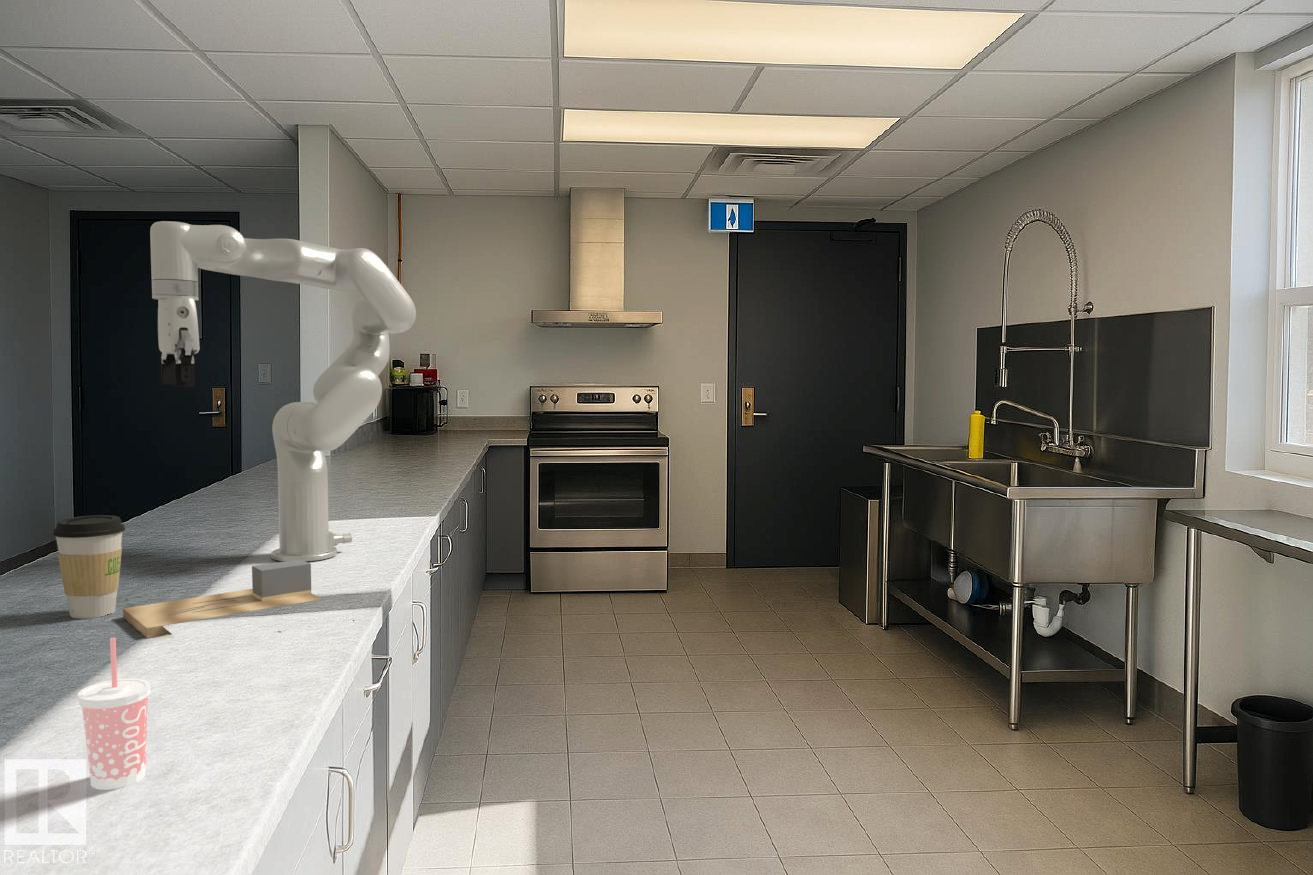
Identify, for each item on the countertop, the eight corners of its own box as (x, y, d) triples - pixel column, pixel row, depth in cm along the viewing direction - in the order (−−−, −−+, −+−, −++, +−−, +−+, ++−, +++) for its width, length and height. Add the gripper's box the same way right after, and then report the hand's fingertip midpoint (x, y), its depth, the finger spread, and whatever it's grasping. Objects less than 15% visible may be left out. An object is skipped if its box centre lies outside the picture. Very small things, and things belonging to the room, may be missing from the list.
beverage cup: (94, 799, 87) (88, 651, 85) (72, 779, 91) (66, 638, 90) (164, 778, 91) (159, 637, 90) (140, 759, 95) (135, 625, 94)
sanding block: (301, 588, 160) (300, 559, 159) (311, 593, 157) (310, 563, 156) (252, 595, 155) (251, 565, 154) (262, 601, 151) (261, 570, 151)
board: (290, 591, 164) (290, 582, 163) (323, 607, 153) (322, 598, 153) (123, 617, 146) (123, 608, 146) (147, 638, 136) (146, 627, 136)
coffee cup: (142, 608, 152) (139, 516, 150) (88, 624, 142) (84, 527, 141) (97, 602, 155) (93, 512, 154) (40, 618, 146) (36, 522, 144)
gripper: (210, 290, 166) (213, 387, 168) (185, 294, 179) (187, 384, 181) (164, 287, 161) (167, 387, 163) (141, 292, 174) (144, 384, 176)
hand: (178, 385), depth 172 cm, fingers open, 9 cm apart
